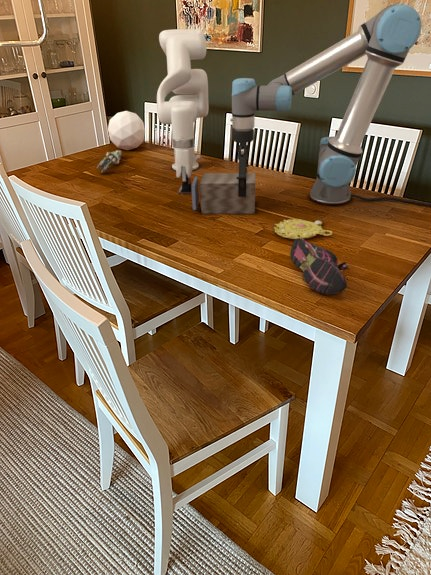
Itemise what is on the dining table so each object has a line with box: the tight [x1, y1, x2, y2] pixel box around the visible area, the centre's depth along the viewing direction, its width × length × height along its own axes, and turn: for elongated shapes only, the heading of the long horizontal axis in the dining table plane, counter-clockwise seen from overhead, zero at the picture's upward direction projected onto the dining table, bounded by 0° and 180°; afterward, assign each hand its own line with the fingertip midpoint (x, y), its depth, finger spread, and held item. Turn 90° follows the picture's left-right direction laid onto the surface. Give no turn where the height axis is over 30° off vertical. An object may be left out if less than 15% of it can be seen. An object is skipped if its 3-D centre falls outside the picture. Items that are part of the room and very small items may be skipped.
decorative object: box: [273, 218, 333, 240], centre depth 145 cm, size 21×2×20 cm
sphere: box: [107, 110, 146, 151], centre depth 234 cm, size 19×20×20 cm
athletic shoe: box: [289, 238, 350, 295], centre depth 119 cm, size 11×22×12 cm
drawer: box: [177, 176, 201, 211], centre depth 164 cm, size 24×10×9 cm, turn 86°
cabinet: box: [199, 172, 256, 215], centre depth 163 cm, size 20×11×11 cm, turn 86°
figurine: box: [96, 150, 123, 174], centre depth 213 cm, size 7×8×30 cm
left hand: (187, 193), depth 164 cm, fingers closed
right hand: (242, 190), depth 162 cm, fingers closed on cabinet, 11 cm apart
